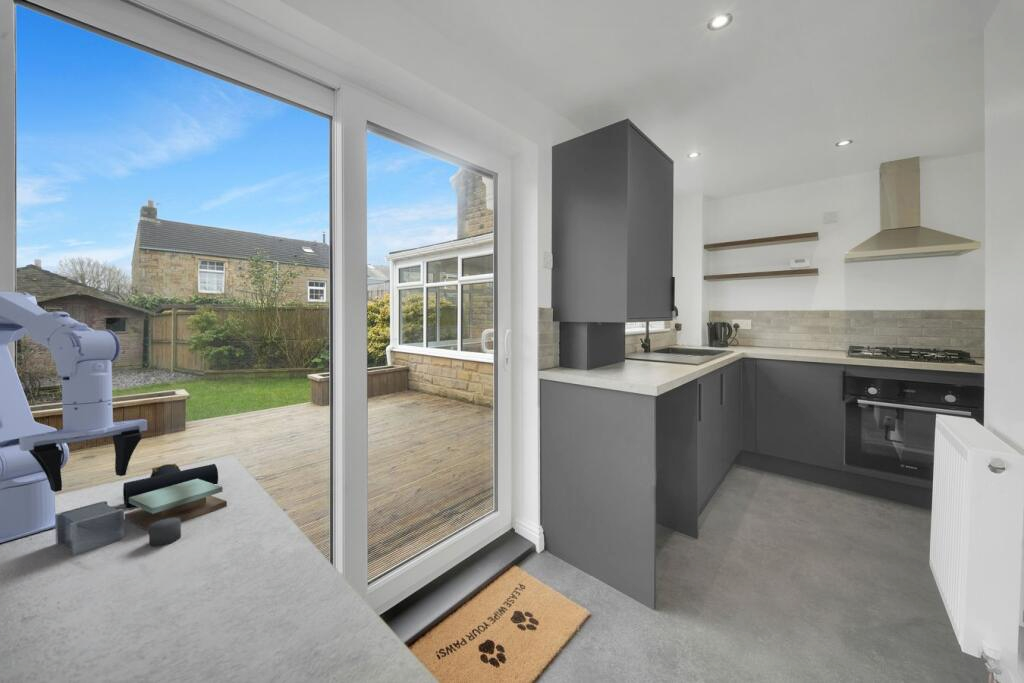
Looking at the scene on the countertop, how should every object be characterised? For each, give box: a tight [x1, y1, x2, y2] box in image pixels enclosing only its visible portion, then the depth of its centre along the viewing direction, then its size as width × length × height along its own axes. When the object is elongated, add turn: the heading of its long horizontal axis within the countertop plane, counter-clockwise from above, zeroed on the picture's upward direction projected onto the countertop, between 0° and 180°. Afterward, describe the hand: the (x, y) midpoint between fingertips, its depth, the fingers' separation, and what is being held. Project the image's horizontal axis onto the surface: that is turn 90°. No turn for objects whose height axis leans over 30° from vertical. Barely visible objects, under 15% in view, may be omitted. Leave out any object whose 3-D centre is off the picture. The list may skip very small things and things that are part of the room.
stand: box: [124, 479, 228, 532], centre depth 77 cm, size 12×11×4 cm
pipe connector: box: [122, 463, 219, 509], centre depth 88 cm, size 12×5×15 cm
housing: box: [54, 500, 125, 557], centre depth 66 cm, size 8×6×5 cm
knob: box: [148, 518, 182, 548], centre depth 66 cm, size 4×4×3 cm
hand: (90, 482), depth 66 cm, fingers open, 7 cm apart
